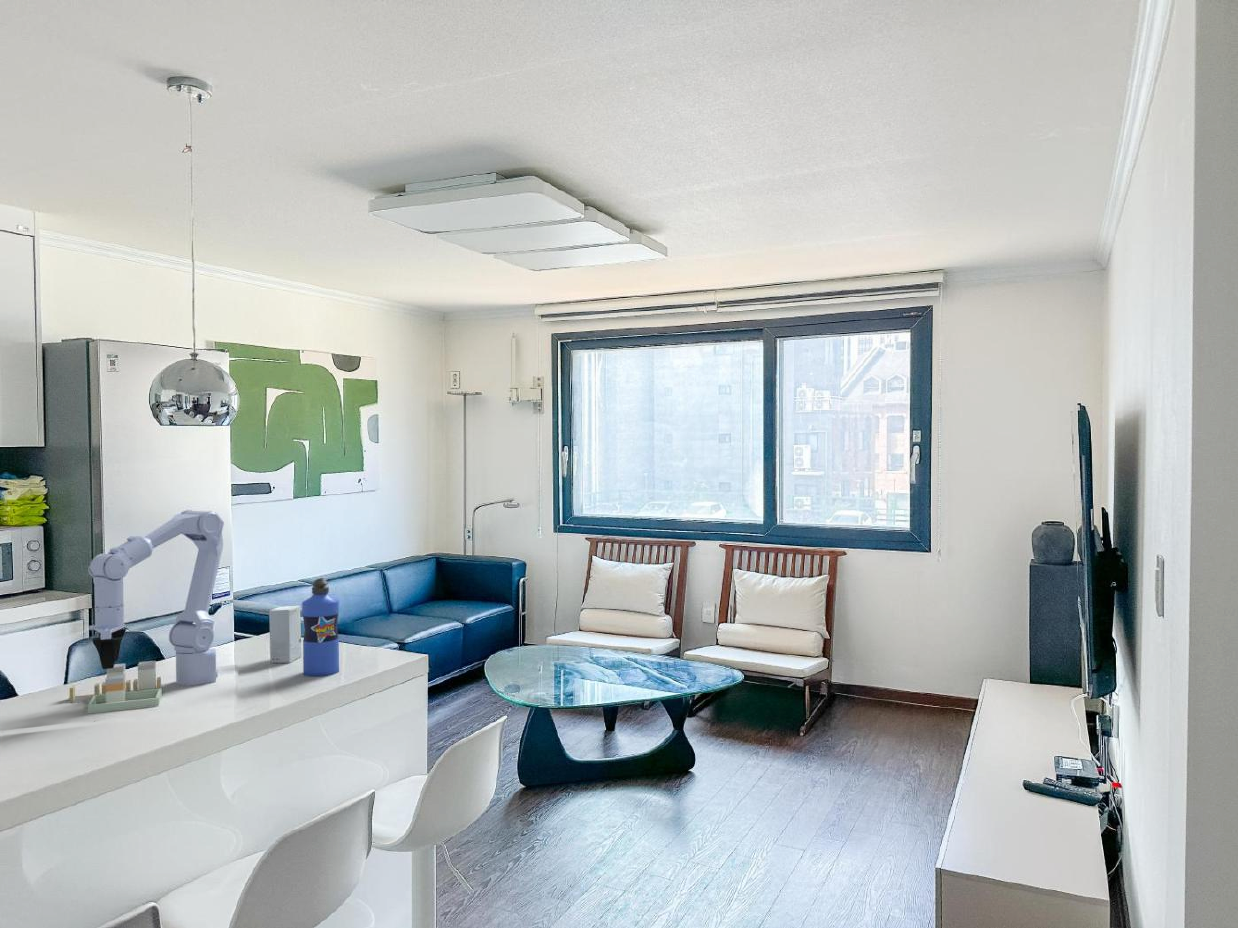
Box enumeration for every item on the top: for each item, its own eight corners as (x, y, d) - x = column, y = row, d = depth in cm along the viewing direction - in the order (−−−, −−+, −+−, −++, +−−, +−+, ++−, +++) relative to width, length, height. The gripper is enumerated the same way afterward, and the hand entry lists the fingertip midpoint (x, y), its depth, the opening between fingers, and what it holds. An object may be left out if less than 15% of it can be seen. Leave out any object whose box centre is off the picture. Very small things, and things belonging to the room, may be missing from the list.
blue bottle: (344, 673, 232) (343, 579, 231) (308, 678, 227) (307, 582, 226) (333, 666, 240) (332, 575, 239) (298, 671, 234) (297, 578, 234)
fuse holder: (164, 691, 216) (164, 674, 216) (162, 697, 210) (162, 680, 210) (69, 700, 208) (69, 683, 208) (65, 707, 202) (65, 690, 202)
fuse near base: (156, 689, 214) (155, 660, 214) (154, 692, 211) (154, 663, 210) (139, 690, 212) (139, 662, 212) (138, 694, 209) (137, 665, 209)
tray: (161, 699, 208) (161, 688, 208) (158, 709, 200) (158, 698, 200) (93, 706, 203) (93, 695, 203) (87, 717, 194) (87, 705, 194)
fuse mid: (125, 692, 211) (125, 663, 211) (124, 695, 208) (123, 666, 208) (108, 693, 210) (108, 664, 210) (106, 697, 207) (106, 668, 206)
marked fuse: (125, 704, 203) (124, 674, 203) (123, 708, 200) (123, 677, 200) (107, 706, 201) (107, 675, 201) (105, 710, 198) (105, 679, 198)
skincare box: (290, 663, 243) (289, 610, 243) (268, 663, 243) (268, 610, 243) (302, 656, 251) (301, 604, 251) (281, 656, 252) (281, 604, 251)
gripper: (93, 602, 206) (94, 659, 207) (84, 612, 193) (85, 673, 193) (127, 599, 209) (128, 656, 210) (120, 610, 196) (121, 670, 196)
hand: (110, 664), depth 202 cm, fingers open, 7 cm apart
